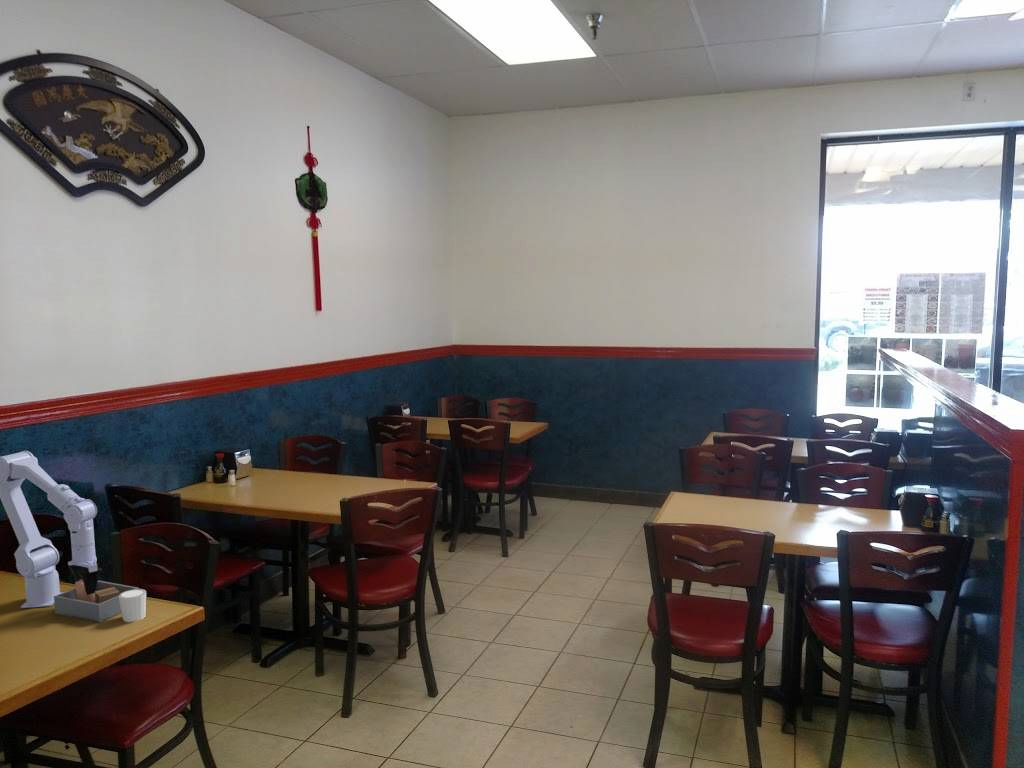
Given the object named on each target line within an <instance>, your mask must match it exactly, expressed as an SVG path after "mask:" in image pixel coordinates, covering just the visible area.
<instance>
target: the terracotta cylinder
mask: <svg viewBox="0 0 1024 768" xmlns="http://www.w3.org/2000/svg"><path fill="white" fill-rule="evenodd" d="M74 585H75V587H74V588H76V600H81V601H87V602H92V603H96V602H95V593H93V594H89V595H87V594H86V591H85V587H84V583H83V580H82V579H81V580H78V581H75V583H74Z"/></svg>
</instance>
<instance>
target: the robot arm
mask: <svg viewBox="0 0 1024 768" xmlns="http://www.w3.org/2000/svg"><path fill="white" fill-rule="evenodd" d="M25 480H28V481H29V482H31V483H33V484H34V485H35V486H36V487H38V488H39V489H40V490H42V491H43V492H45V493H47V500H48V501H49V502H50V503H51V504H52V505H54V506H55V507H56V508H57V509H58V510H59V511H61V512H62V513H63V519H64V521H65V523H67V528H68V530H69V532H70V543H71V557H72V558H71V560H70V561H68V562H67V567H68V568H69V569H70V571H71V572H72V575H73V577H74V580H75V582H76V581H78V580H81V579H82V580H83V583H84V587H85V591H86V594H87V595H89V594H93V593H95V591H96V587H97V582H98V581H99V578H100V575H101V573H102V571H103V568H101V567H98V563H97V560H98V559H97V556H96V546H95V545H96V544H95V529H94V519H95V518H96V516H97V514H98V507H97V506H96V503H94V501H93V500H92V499H90V498H89V499H88V498H87V499H86V498H84V497H80V496H79V495H78V494H77V493H76V492H74V490H72V489H71V488H70V486H69V485H67V484H64V483H63V484H58V482H56V481H55V479H53V478H52V477H51V476H50V475H49V474H48V473H47V472H46V471H45V470H44V469H43V468H42V467H41V466H40V465H39V461H38V458H37V457H36V456H34V454H33V453H32V452H30V451H29V450H23V451H20V452H15V453H12V454H7V455H1V456H0V500H1V503H2V506H3V508H4V511H5V512H6V514H7V517H8V519H9V522H10V524H11V527H12V528H13V531H14V533H15V536H16V539H17V541H18V544H19V545H18V547H17V549H16V551H14V554H13V555H14V558H15V561H16V562H15V564H16V565H15V567H16V569H17V571H18V573H19V574H20V575H21V577H24V587H25V599H26V601H24V603H23V604H22V605H21V606H20V609H26V608H27V609H28V608H42V607H51V606H52V605H54V596H56V595H58V594H61V593H64V592H63V591H62V592H61V588H60V587H61V586H60V578H59V577H60V575H59V572H58V571H57V570H56V565H58V563H59V561H60V553H59V551H58V549H57V548H56V547H55V546H54V545H53V543H52V541H51V540H50V539H48V538H46V537H43V536H41V533H40V531H39V529H38V527H37V524H36V521H35V519H34V516H33V513H32V512H31V509H30V507H29V505H28V502H27V500H26V497H25V495H24V493H23V490H22V488H21V486H22V484H23V482H24V481H25ZM33 550H34V551H33Z"/></svg>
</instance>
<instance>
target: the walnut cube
mask: <svg viewBox="0 0 1024 768" xmlns="http://www.w3.org/2000/svg"><path fill="white" fill-rule="evenodd" d="M118 595H120V593H119V591H118V590H117V589H116V588H115V587H112V588H108V589H104V590H100V591H95V602H96V603H97V604H100V603H102V602H104V601H107V600H109V599H111V598H114V597H116V596H118Z"/></svg>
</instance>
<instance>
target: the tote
mask: <svg viewBox="0 0 1024 768" xmlns="http://www.w3.org/2000/svg"><path fill="white" fill-rule="evenodd" d="M112 587H115V588H116V589H117V590H118V591H119V593H120V594H121V593H123V592H125V591H128V590H134V589H140V587H139V586H132V585H131V586H130V585H125V584H121V583H115V582H108V581H104V580H98V582H97V587H96V591H100V590H104V589H108V588H112ZM53 605H54V613H55V614H56V615H60V614H61V615H60V616H65V615H66V616H65V617H69V616H71V618H74V617H76V619H79V618H80V620H84V619H87V620H86V621H89V620H92V621H91V622H94V621H97V622H96V623H99V622H100V623H102V622H101V621H103V620H105V621H106V619H107V620H108V618H109V619H111V618H113V616H114V617H116V616H118V615H119V613H120V614H122V613H121V606H120V601H119V595H118V596H116V597H114V598H111V599H109V600H107V601H104V602H102V603H100V604H97V603H92V602H87V601H81V600H76V588H75V587H74V588H72V589H69V590H66V591H64V592H63V593H61V594H58V595H56V596H54V603H53ZM117 614H118V615H117ZM115 615H116V616H115ZM110 617H111V618H110ZM81 618H82V619H81ZM103 622H104V621H103Z"/></svg>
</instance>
